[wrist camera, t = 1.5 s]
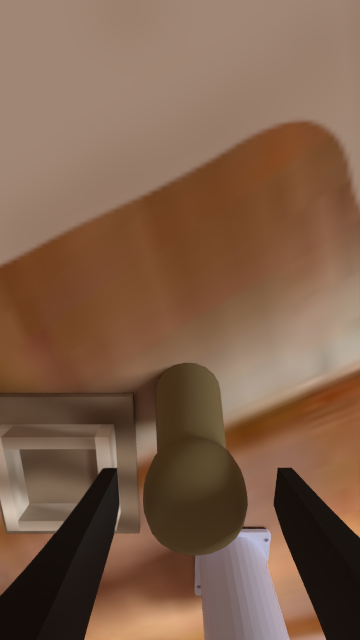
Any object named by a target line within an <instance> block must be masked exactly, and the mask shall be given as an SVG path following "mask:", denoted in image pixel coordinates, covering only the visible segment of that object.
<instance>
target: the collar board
mask: <svg viewBox="0 0 360 640" xmlns="http://www.w3.org/2000/svg"><path fill="white" fill-rule="evenodd" d="M103 468H117V472H118V486H119V500H120V506H119V511H118V516H117V522H116V526H115V531H114V533H139V532H140V511H139V491H138V471H137V451H136V431H135V411H134V393H55V394H0V507H1V512H2V516H3V521H4V525H5V530H6V534H55V533H56V531H57V530H58V529H59V528H60V526H61V525H62V524H63V523H64V521H65V520H66V519H67V517H68V516H69V515H70V513H71V512H72V511H73V509H74V508H75V507H76V505H77V504H78V503H79V501H80V500H81V499H82V497H83V496H84V494H85V493H86V492H87V490H88V489H89V487H90V486H91V485H92V483H93V482H94V480H95V479H96V477H97V476H98V474H99V473H100V471H101V470H102V469H103Z"/></svg>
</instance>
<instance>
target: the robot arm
mask: <svg viewBox="0 0 360 640" xmlns="http://www.w3.org/2000/svg"><path fill="white" fill-rule="evenodd" d="M119 506H120V500H119V486H118V472H117V468H103V469H102V470H101V471H100V473H99V474H98V476H97V477H96V479H95V480H94V482H93V483H92V485H91V486H90V487H89V489H88V490H87V492H86V493H85V494H84V496H83V497H82V499H81V500H80V501H79V503H78V504H77V505H76V507H75V508H74V509H73V511H72V512H71V513H70V515H69V516H68V517H67V519H66V520H65V521H64V523H63V524H62V525H61V526H60V528H59V529H58V530H57V531H56V533H55V534H54V535H53V536H52V538H51V539H50V540H49V541H48V542H47V544H46V545H45V546H44V547H43V549H42V550H41V551H40V552H39V553H38V555H37V556H36V557H35V558H34V559H33V560H32V562H31V563H30V564H29V565H28V566H27V567H26V568H25V570H24V571H23V572H22V573H21V574H20V575H19V576H18V577H17V578H16V580H15V581H14V582H13V583H12V584H11V585H10V586H9V587H8V588H7V589H6V590H5V591H4V593H3V594H2V595H1V596H0V640H84V638H85V634H86V630H87V627H88V623H89V619H90V615H91V612H92V608H93V605H94V602H95V598H96V595H97V591H98V588H99V584H100V581H101V578H102V574H103V571H104V567H105V564H106V560H107V557H108V553H109V550H110V546H111V543H112V539H113V536H114V531H115V526H116V522H117V516H118V511H119ZM274 507H275V510H276V514H277V517H278V520H279V523H280V526H281V529H282V532H283V535H284V538H285V540H286V543H287V545H288V548H289V550H290V552H291V555H292V557H293V560H294V562H295V564H296V567H297V569H298V572H299V574H300V576H301V579H302V581H303V583H304V586H305V588H306V591H307V593H308V595H309V598H310V600H311V603H312V605H313V607H314V610H315V612H316V614H317V617H318V619H319V622H320V625H321V627H322V630H323V632H324V635H325V637H326V640H360V538H359V537H358V536H357V535H356V534H355V533H354V532H353V531H352V530H351V529H350V528H349V527H348V526H347V525H346V524H345V523H344V522H343V521H342V520H341V519H340V518H339V517H338V516H337V515H336V514H335V513H334V512H333V511H332V510H331V509H330V508H329V507H328V506H327V505H326V504H325V503H324V502H323V501H322V499H321V498H320V497H319V496H318V495H317V494H316V493H315V492H314V491H313V490H312V489H311V488H310V487H309V486H308V485H307V484H306V483H305V481H304V480H303V479H302V478H301V477H300V476H299V475H298V474H297V473H296V472H295V471H294V470H293V469H292V468H278V471H277V480H276V489H275V497H274ZM270 539H271V534H270V531H269V530H268V529H242V530H241V531H240V533H239V535H238V536H237V538H236V539H235V540H234V541H232V542H231V543H230V544H229V545H228V546H226V547H225V548H223V549H221V550H218V551H216V552H214V553H212V554H207V555H201V556H195V594H196V595H197V596H202V610H203V625H204V639H205V640H290V639H289V636H288V632H287V629H286V626H285V622H284V619H283V616H282V612H281V609H280V606H279V603H278V599H277V596H276V593H275V589H274V586H273V583H272V579H271V576H270V573H269V569H268V566H267V564H268V556H269V548H270Z"/></svg>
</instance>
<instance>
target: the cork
mask: <svg viewBox="0 0 360 640" xmlns="http://www.w3.org/2000/svg"><path fill="white" fill-rule="evenodd" d="M155 404H156V430H157V454H156V455H155V457H154V459H153V461H152V464H151V466H150V468H149V470H148V472H147V475H146V478H145V483H144V493H143V506H144V513H145V516H146V519H147V522H148V525H149V527H150V529H151V532H152V534H153V535H154V536H155V537H156V539H157V540H158V541H159V542H160V543H161V544H162V545H164V546H166V547H167V548H169V549H170V550H172V551H175V552H178V553H181V554H185V555H193V556H201V555H207V554H212V553H214V552H216V551H218V550H221V549H223V548H225V547H226V546H228V545H229V544H230V543H231V542H232V541H234V540H235V539H236V538H237V536H238V535H239V533H240V531H241V530H242V528H243V525H244V521H245V517H246V511H247V506H248V502H247V491H246V486H245V482H244V478H243V475H242V472H241V469H240V468H239V466H238V465H237V463H236V462H235V460H234V459H233V457H232V456H231V454H230V453H229V451H228V450H227V449H226V443H225V433H224V423H223V414H222V404H221V394H220V388H219V383H218V381H217V379H216V377H215V376H214V374H213V373H212V372H210V371H209V370H208V369H207V368H206V367H203V366H201V365H198V364H194V363H182V364H178V365H174V366H173V367H171V368H169V369H167V370H166V371H165V372H164V373H163V374H162V375H161V376H160V378H159V380H158V382H157V385H156V390H155Z"/></svg>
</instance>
